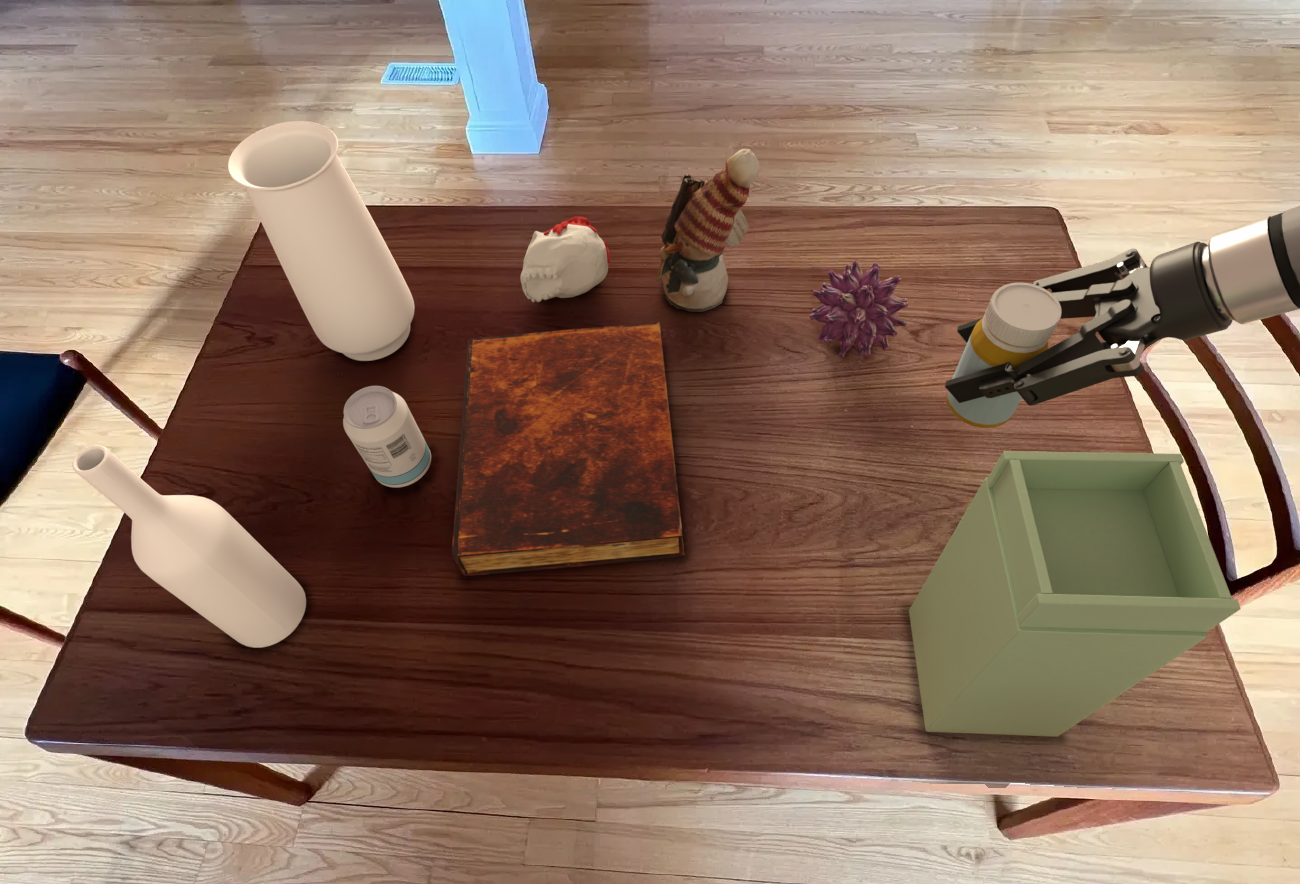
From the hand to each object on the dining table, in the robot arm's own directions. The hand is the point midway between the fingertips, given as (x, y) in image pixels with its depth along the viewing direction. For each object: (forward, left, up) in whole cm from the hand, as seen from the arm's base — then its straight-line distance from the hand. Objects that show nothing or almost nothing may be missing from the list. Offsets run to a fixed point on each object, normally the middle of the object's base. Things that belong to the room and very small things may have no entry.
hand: (959, 363), depth 81 cm
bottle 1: (+42, +63, -14) cm, 77 cm away
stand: (-18, +21, -14) cm, 31 cm away
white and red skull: (+51, +7, -14) cm, 53 cm away
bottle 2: (-3, -1, -6) cm, 7 cm away
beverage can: (+45, +42, -14) cm, 63 cm away
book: (+31, +28, -14) cm, 44 cm away
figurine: (+36, -3, -14) cm, 39 cm away
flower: (+15, -7, -14) cm, 22 cm away
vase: (+65, +31, -14) cm, 73 cm away
